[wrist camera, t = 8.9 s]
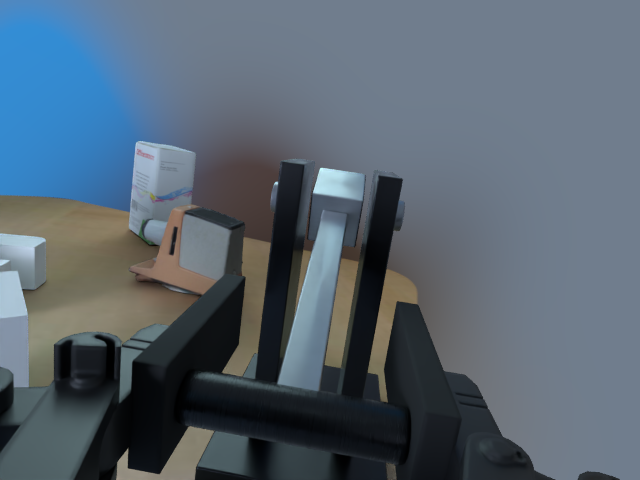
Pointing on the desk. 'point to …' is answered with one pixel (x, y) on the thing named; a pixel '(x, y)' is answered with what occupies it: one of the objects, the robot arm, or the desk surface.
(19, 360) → the white cube
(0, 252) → the white notched arch block
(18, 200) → the desk surface
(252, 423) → the lever
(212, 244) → the electronic device
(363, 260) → the black lever stand
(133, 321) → the desk surface
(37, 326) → the desk surface
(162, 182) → the ink box
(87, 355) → the robot arm
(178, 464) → the desk surface
